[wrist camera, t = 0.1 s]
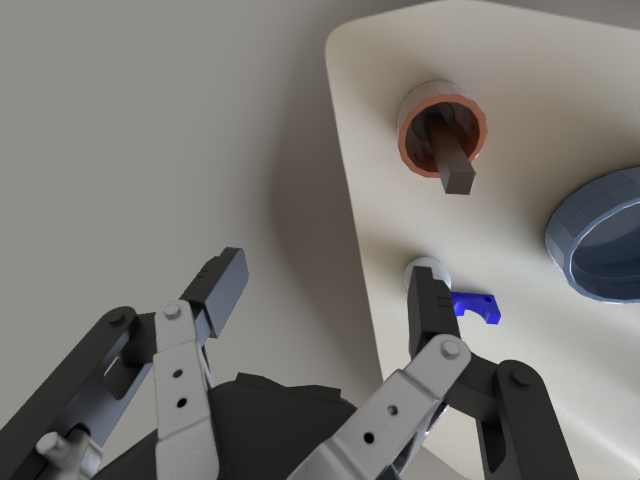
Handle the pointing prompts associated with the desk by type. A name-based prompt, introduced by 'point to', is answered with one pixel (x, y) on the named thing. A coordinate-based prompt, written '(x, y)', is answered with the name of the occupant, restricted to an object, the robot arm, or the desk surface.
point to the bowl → (600, 238)
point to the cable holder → (477, 306)
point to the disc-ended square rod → (445, 147)
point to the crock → (465, 128)
